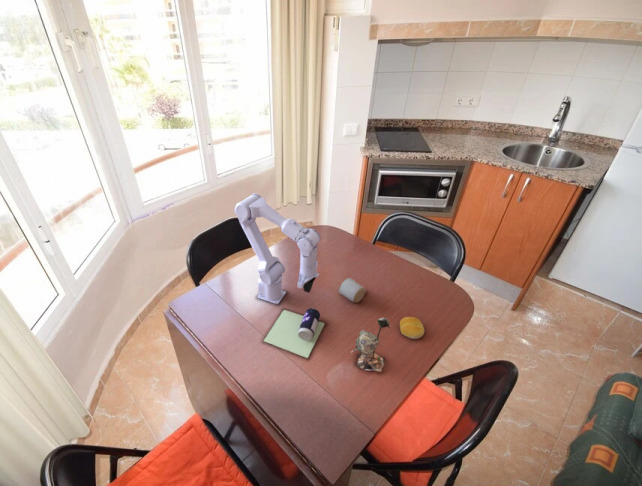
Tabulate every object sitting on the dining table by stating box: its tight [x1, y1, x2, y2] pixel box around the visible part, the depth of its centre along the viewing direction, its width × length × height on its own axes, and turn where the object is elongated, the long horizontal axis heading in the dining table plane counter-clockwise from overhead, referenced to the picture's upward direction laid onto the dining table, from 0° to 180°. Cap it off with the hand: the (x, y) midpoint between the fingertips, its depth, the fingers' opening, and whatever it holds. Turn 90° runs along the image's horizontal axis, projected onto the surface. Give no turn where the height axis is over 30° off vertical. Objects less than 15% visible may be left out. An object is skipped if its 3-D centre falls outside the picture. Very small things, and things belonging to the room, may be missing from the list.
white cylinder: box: [338, 277, 367, 304], centre depth 131 cm, size 11×8×8 cm
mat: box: [263, 309, 325, 359], centre depth 118 cm, size 17×17×1 cm
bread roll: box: [399, 316, 425, 340], centre depth 116 cm, size 8×9×4 cm
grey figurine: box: [350, 317, 391, 373], centre depth 102 cm, size 8×11×20 cm
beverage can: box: [298, 307, 321, 341], centre depth 117 cm, size 6×6×12 cm
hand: (307, 290), depth 121 cm, fingers closed
